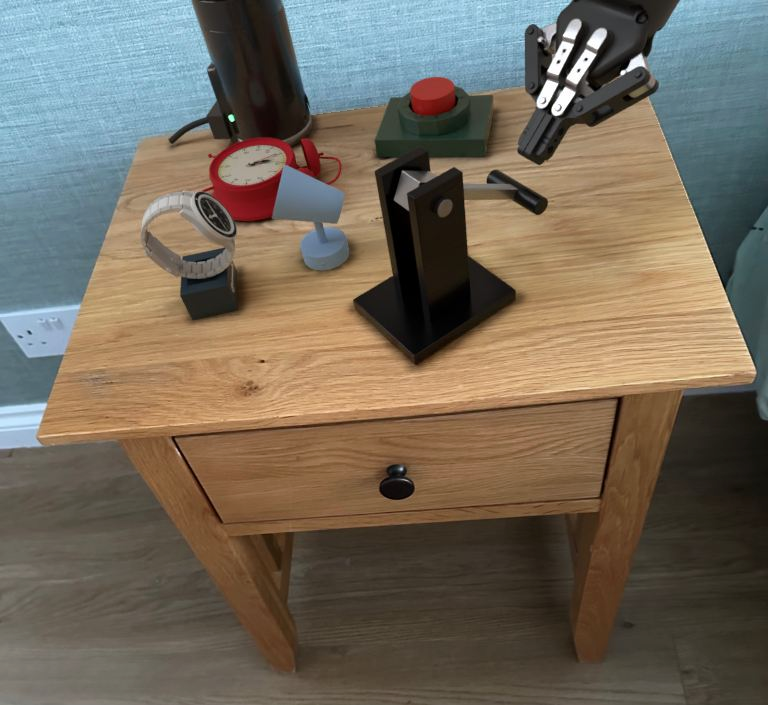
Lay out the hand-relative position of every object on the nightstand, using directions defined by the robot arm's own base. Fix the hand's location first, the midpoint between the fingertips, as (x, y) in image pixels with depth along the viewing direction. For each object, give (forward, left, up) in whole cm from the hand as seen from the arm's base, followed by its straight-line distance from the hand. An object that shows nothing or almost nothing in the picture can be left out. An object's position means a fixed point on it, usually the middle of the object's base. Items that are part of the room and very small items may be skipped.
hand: (528, 159), depth 57 cm
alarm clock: (-27, +8, -9) cm, 30 cm away
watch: (-28, -8, -9) cm, 31 cm away
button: (-11, +19, -6) cm, 23 cm away
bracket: (-7, -8, -9) cm, 14 cm away
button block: (-11, +19, -9) cm, 24 cm away
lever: (-5, -5, -1) cm, 7 cm away
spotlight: (-19, -2, -9) cm, 22 cm away
